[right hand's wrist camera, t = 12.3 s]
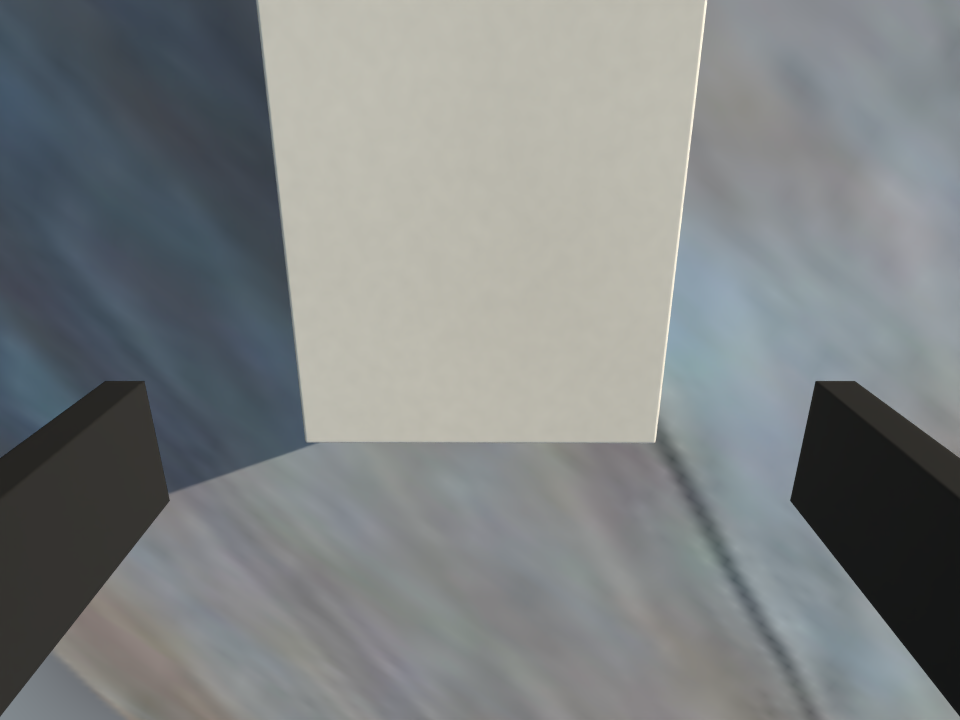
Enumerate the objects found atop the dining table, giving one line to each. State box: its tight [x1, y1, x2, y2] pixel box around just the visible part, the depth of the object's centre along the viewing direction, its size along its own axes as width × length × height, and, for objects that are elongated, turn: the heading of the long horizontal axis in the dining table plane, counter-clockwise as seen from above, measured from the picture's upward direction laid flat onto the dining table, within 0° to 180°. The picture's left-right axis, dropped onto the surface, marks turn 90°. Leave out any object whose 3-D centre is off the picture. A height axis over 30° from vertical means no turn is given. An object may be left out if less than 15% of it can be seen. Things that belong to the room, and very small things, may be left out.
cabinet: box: [256, 0, 707, 443], centre depth 19 cm, size 21×10×8 cm, turn 0°
